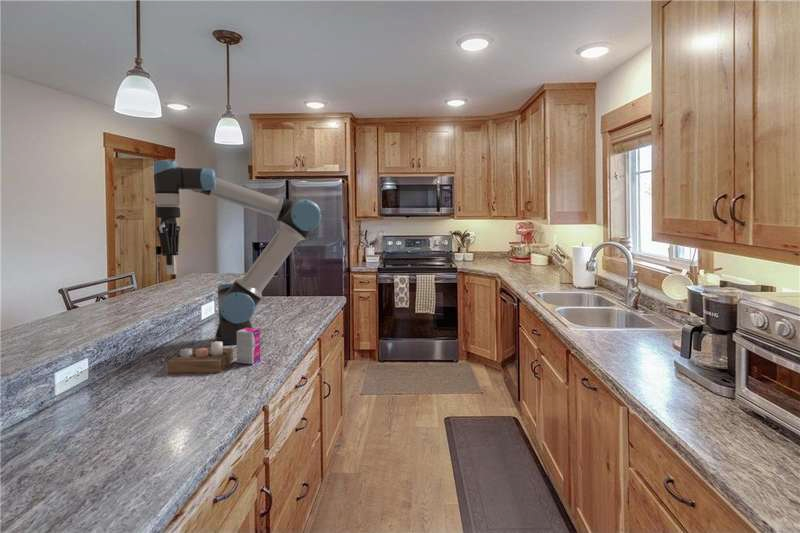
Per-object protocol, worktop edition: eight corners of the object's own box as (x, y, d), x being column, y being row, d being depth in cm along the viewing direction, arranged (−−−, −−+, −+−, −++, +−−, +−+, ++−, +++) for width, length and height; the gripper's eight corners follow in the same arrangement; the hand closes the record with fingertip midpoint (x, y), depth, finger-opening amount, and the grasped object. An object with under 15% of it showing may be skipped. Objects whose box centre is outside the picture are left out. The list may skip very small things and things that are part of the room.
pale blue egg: (183, 362, 153) (182, 348, 152) (194, 362, 153) (193, 348, 153) (179, 365, 149) (178, 351, 149) (190, 365, 150) (189, 351, 149)
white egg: (213, 355, 153) (213, 341, 153) (224, 355, 154) (224, 341, 153) (209, 358, 150) (209, 344, 149) (221, 358, 150) (220, 344, 149)
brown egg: (198, 362, 153) (198, 348, 153) (209, 361, 153) (209, 347, 153) (194, 365, 150) (193, 351, 149) (205, 365, 150) (205, 351, 149)
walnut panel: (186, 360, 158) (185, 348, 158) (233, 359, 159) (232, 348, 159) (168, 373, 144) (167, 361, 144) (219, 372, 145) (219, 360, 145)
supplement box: (252, 365, 152) (251, 332, 151) (236, 364, 154) (235, 331, 152) (261, 360, 158) (260, 327, 157) (245, 359, 159) (244, 327, 158)
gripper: (165, 206, 164) (168, 271, 167) (147, 206, 151) (151, 276, 154) (186, 206, 165) (189, 271, 167) (170, 206, 152) (174, 276, 154)
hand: (171, 273), depth 161 cm, fingers closed
